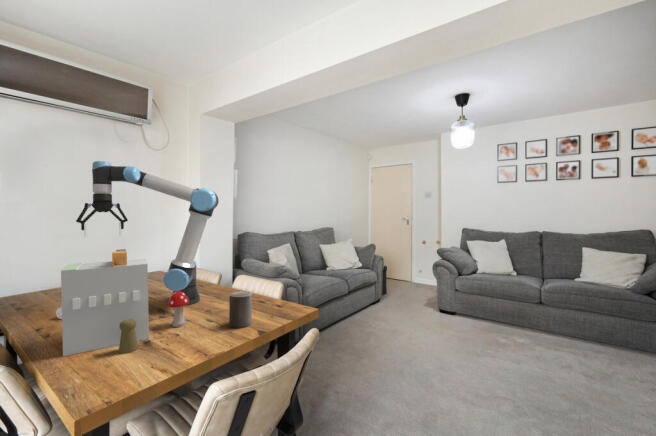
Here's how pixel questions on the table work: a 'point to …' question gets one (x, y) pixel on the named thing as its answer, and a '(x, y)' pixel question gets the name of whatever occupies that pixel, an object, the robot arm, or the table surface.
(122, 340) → the cork
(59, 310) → the smoothie
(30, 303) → the table surface
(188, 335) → the table surface
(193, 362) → the table surface
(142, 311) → the breaker panel
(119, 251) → the handle
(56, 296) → the table surface
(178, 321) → the decorative mushroom
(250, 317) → the pillar candle
